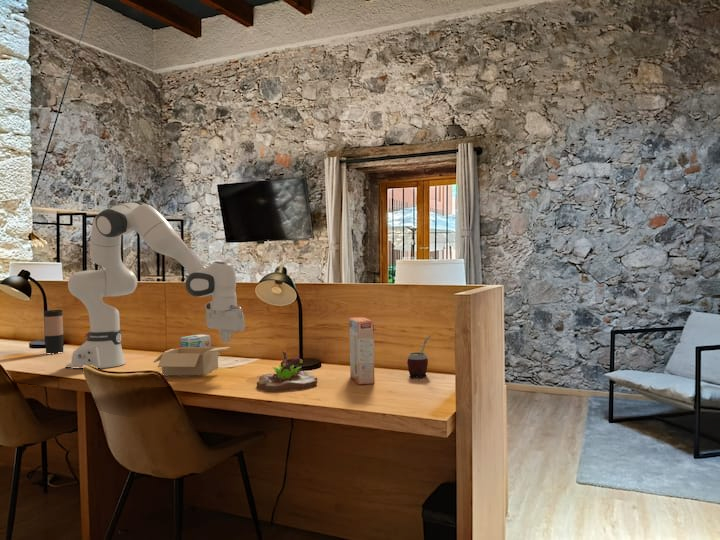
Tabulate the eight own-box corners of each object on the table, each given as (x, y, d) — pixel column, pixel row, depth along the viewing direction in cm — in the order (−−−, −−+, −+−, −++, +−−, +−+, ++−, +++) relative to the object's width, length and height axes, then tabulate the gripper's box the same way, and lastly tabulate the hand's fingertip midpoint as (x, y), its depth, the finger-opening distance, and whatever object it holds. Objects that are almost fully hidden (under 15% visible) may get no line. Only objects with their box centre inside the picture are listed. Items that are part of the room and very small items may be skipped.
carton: (149, 375, 206) (148, 353, 206) (173, 365, 225) (172, 344, 225) (203, 375, 203) (202, 353, 203) (223, 365, 222) (222, 344, 222)
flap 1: (163, 354, 205) (157, 367, 201) (163, 353, 205) (157, 366, 200) (200, 354, 203) (194, 367, 199) (199, 353, 203) (194, 366, 198)
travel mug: (42, 353, 262) (41, 311, 262) (59, 351, 268) (58, 309, 268) (49, 355, 257) (47, 311, 257) (66, 352, 263) (65, 310, 263)
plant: (310, 376, 199) (310, 345, 199) (321, 389, 181) (321, 354, 180) (253, 381, 194) (253, 349, 194) (259, 394, 175) (258, 358, 175)
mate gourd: (404, 375, 196) (403, 332, 195) (426, 373, 198) (425, 331, 197) (412, 380, 189) (411, 335, 188) (434, 378, 191) (433, 334, 190)
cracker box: (375, 384, 184) (374, 320, 183) (357, 385, 182) (356, 321, 182) (366, 375, 197) (365, 316, 197) (350, 376, 196) (348, 317, 196)
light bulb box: (190, 364, 226) (189, 338, 225) (180, 363, 230) (179, 337, 229) (211, 360, 234) (211, 334, 234) (201, 359, 238) (200, 333, 238)
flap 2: (207, 351, 206) (223, 349, 205) (215, 347, 213) (230, 346, 212) (207, 352, 206) (223, 350, 205) (215, 348, 213) (230, 347, 212)
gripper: (248, 305, 204) (249, 343, 204) (216, 303, 217) (218, 338, 218) (234, 306, 199) (235, 345, 199) (202, 304, 213) (203, 340, 213)
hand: (226, 342), depth 209 cm, fingers closed
